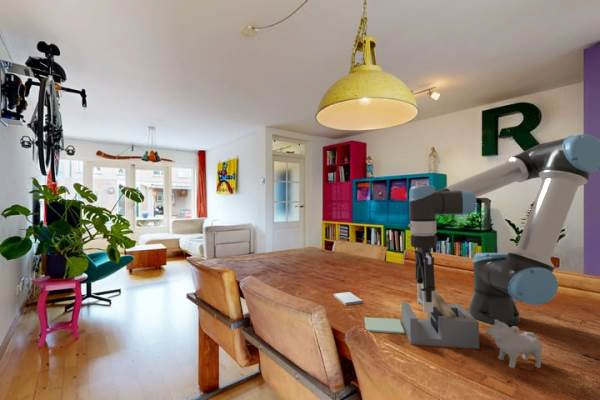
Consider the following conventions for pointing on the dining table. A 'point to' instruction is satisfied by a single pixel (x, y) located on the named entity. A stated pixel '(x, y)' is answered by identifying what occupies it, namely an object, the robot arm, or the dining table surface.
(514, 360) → the animal figurine
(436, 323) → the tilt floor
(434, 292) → the tile
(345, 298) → the hard drive
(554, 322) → the dining table surface
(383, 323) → the mat
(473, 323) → the dock
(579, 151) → the robot arm
